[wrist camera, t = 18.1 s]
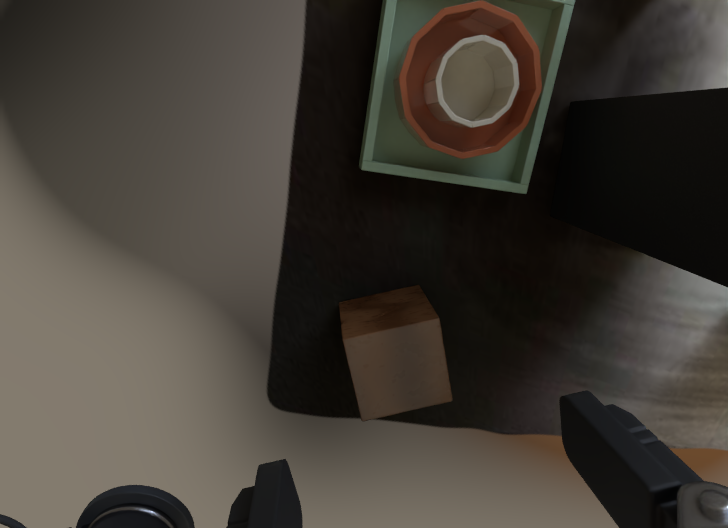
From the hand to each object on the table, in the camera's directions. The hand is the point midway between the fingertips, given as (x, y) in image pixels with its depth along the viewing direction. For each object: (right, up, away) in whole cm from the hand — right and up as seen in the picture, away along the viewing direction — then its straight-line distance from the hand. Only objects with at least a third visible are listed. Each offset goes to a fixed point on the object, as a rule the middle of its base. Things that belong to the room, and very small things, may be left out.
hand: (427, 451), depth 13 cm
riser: (0, -1, +32) cm, 32 cm away
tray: (+6, +21, +26) cm, 34 cm away
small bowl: (+6, +20, +24) cm, 32 cm away
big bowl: (+6, +20, +25) cm, 33 cm away
